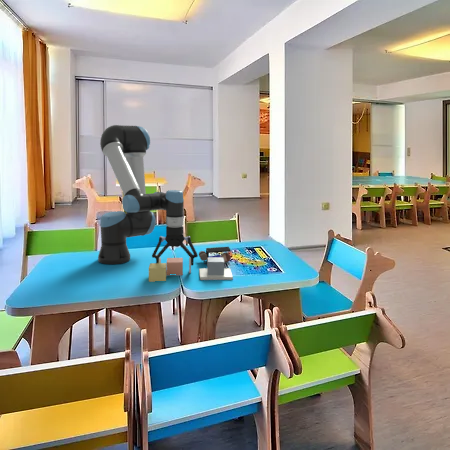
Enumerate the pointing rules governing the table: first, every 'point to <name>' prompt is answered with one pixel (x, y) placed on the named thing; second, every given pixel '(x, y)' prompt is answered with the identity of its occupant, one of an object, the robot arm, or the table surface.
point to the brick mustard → (157, 272)
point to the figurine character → (204, 255)
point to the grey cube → (215, 265)
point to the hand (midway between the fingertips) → (175, 272)
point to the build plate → (205, 275)
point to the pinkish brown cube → (175, 266)
